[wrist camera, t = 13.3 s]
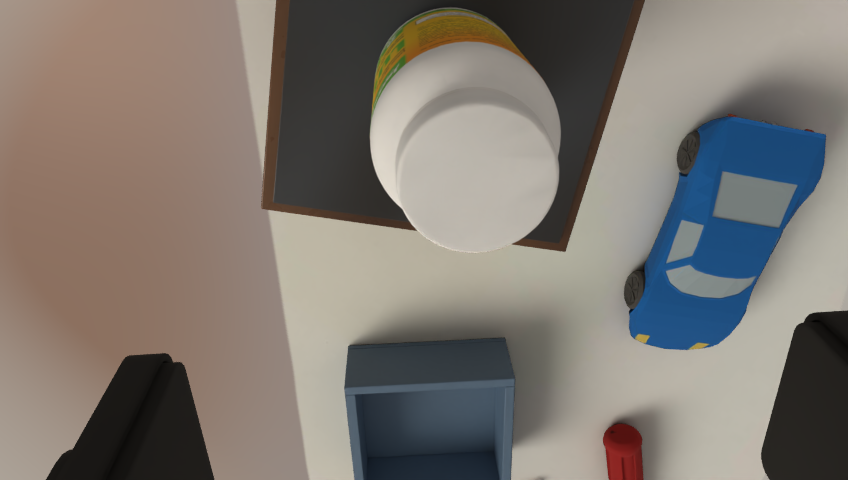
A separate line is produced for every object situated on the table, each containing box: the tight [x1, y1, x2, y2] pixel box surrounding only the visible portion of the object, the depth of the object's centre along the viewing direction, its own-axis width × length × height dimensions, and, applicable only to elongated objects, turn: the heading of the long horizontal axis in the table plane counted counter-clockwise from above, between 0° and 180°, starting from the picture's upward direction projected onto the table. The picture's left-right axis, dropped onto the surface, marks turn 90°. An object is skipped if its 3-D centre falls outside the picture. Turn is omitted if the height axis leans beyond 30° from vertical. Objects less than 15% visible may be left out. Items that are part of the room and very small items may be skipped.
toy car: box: [624, 114, 826, 350], centre depth 51 cm, size 9×20×5 cm, turn 169°
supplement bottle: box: [370, 8, 561, 253], centre depth 20 cm, size 5×5×10 cm
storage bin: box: [344, 338, 515, 480], centre depth 58 cm, size 14×14×6 cm
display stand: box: [261, 0, 645, 252], centre depth 34 cm, size 13×13×22 cm
